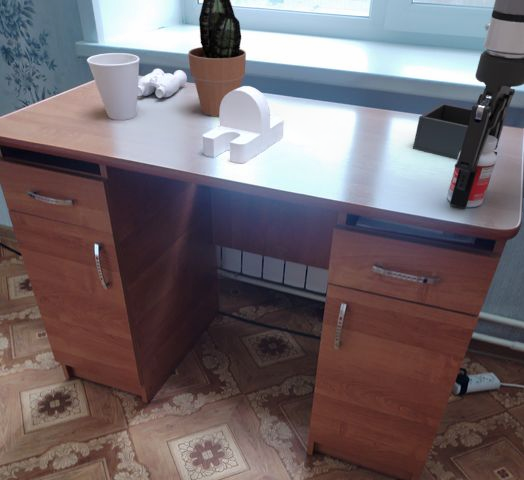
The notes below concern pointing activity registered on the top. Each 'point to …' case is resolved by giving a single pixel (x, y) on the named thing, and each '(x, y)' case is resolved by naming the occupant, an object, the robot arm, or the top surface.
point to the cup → (117, 83)
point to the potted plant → (217, 55)
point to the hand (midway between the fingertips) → (464, 198)
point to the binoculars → (161, 83)
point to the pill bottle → (479, 174)
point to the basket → (442, 130)
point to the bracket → (243, 126)
